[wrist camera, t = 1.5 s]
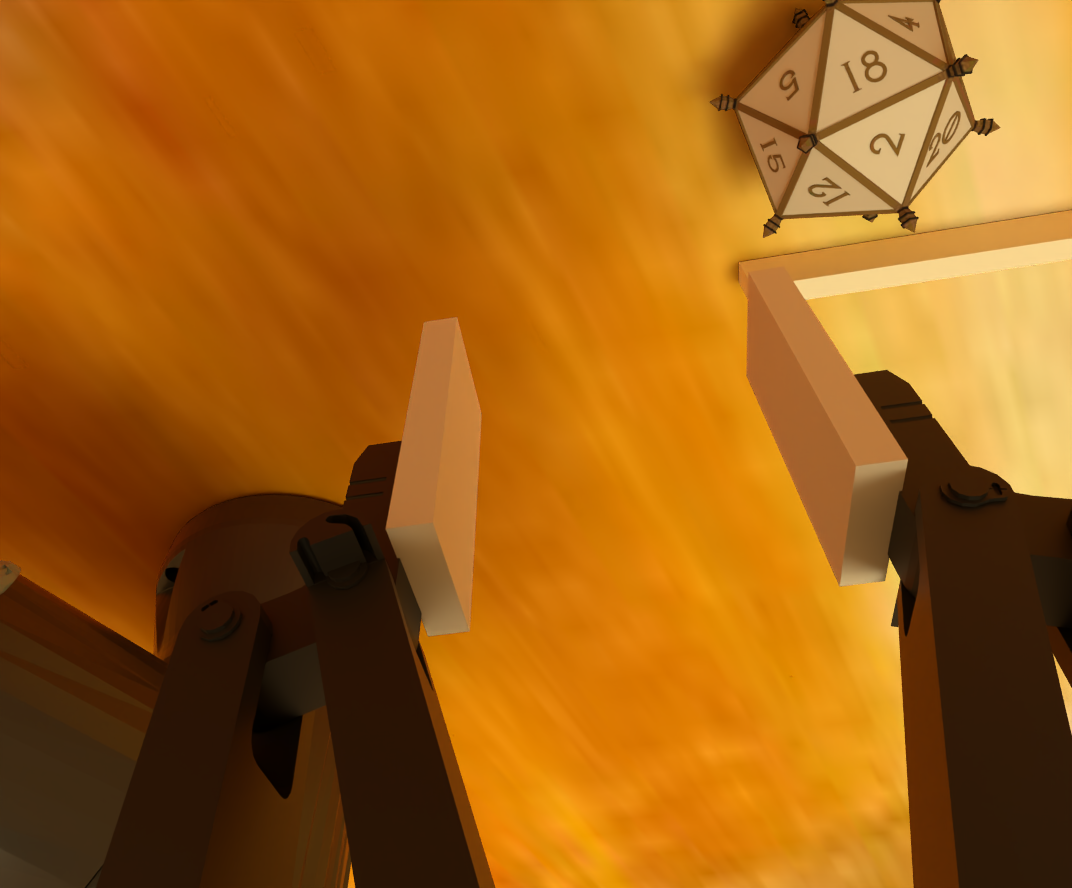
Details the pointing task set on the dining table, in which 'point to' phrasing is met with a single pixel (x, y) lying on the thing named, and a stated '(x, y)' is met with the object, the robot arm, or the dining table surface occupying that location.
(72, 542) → the dining table surface
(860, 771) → the dining table surface
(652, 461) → the dining table surface
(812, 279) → the tan piece
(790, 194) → the game die
